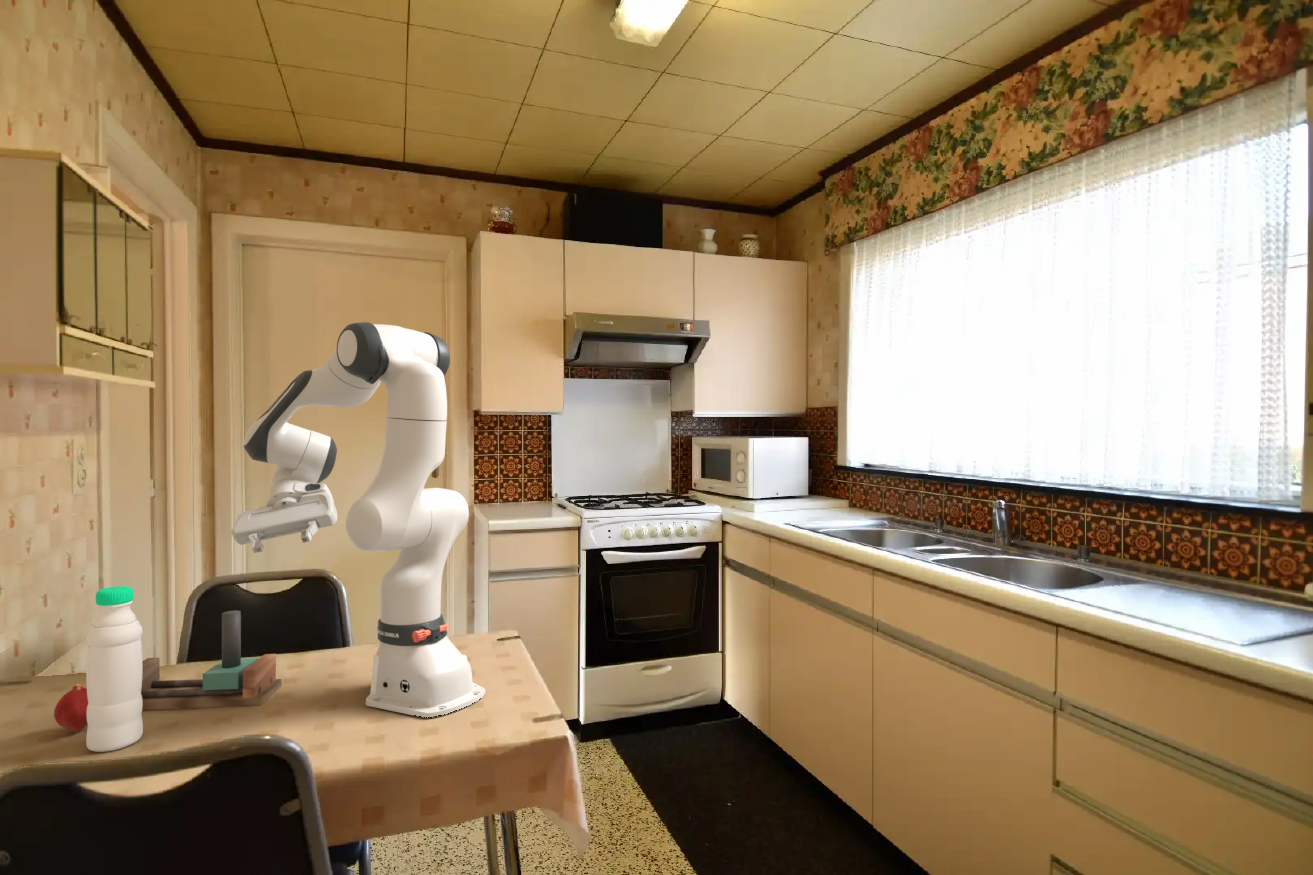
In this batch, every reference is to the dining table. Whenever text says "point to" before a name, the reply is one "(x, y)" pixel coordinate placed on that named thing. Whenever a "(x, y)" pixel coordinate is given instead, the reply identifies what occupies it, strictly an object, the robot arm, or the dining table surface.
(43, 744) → the dining table surface
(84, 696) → the onion
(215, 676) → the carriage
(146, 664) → the rail
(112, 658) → the white bottle
